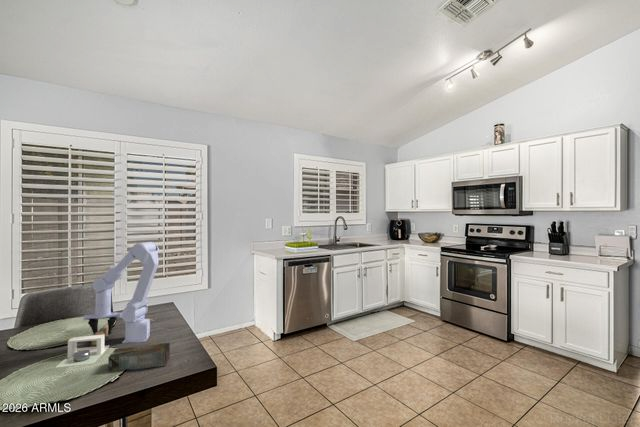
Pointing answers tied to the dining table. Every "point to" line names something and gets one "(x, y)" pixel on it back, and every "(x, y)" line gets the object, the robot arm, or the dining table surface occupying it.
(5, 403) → the dining table surface
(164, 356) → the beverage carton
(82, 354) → the token
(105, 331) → the blade batten
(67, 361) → the floor board
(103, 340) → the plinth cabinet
